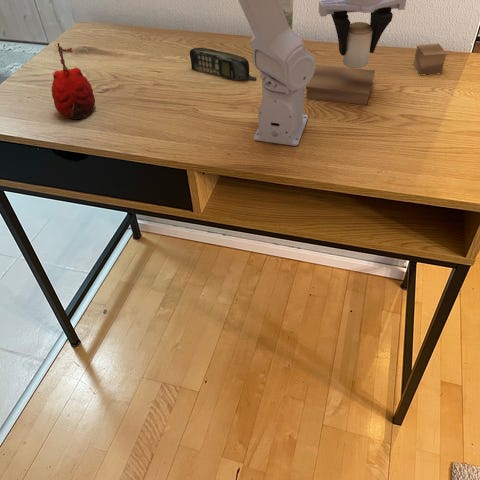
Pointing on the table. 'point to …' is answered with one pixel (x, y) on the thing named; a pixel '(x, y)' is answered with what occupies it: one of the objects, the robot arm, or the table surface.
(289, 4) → the syrup box
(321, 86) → the wooden brick
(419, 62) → the walnut block
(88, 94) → the red bumpy rounded piece
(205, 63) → the mobile phone
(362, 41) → the stoneware jar
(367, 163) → the table surface
